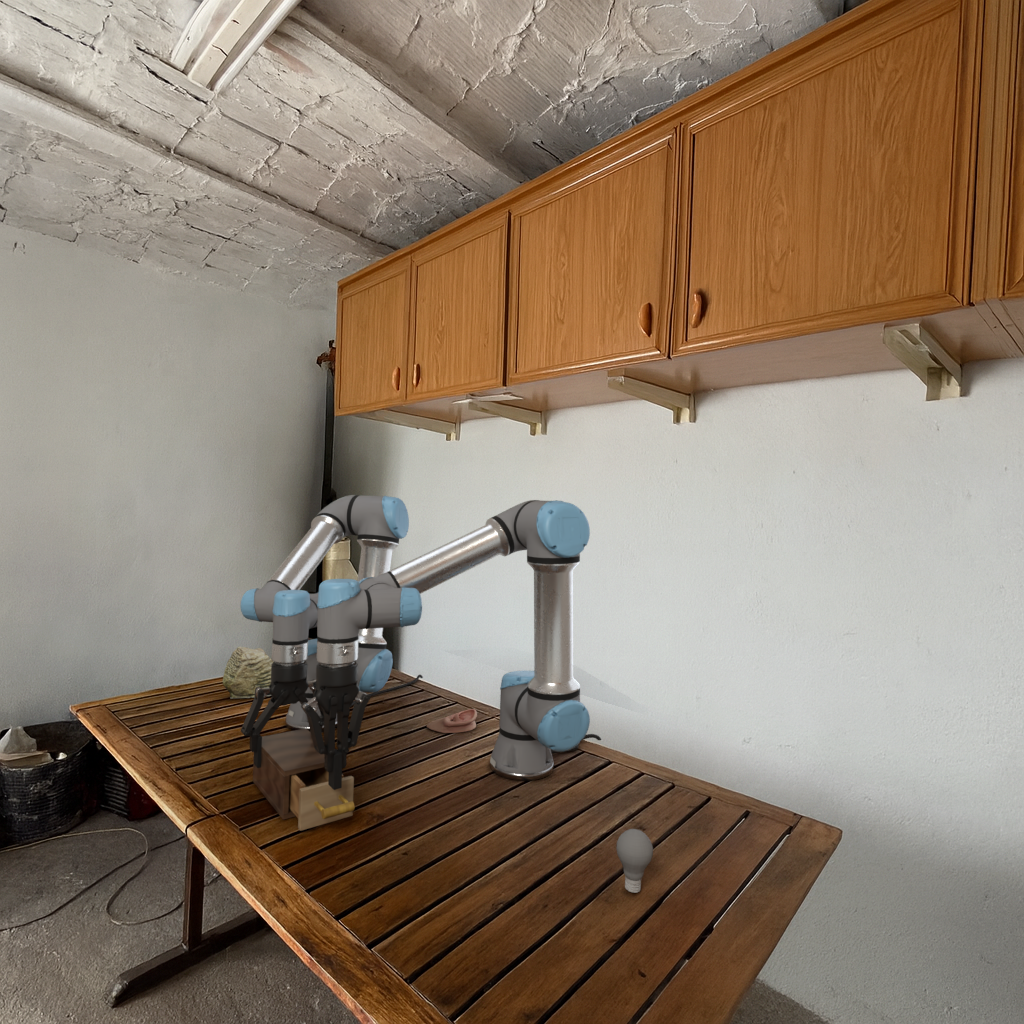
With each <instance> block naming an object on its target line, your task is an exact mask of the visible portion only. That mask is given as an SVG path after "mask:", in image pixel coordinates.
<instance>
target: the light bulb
mask: <svg viewBox="0 0 1024 1024" xmlns="http://www.w3.org/2000/svg"><path fill="white" fill-rule="evenodd" d="M615 849H616V854H617V857H618V859H619V861H620V863H621V865H622V867H623V873H624V874H623V875H624V876H625V878H624V888H625V890H627V891H628V892H630V893H634V894H635V893H639V892H640V891H641V889H642V887H641V886H642V879H643V877H644V875H645V871H646V868H647V867H648V866H649V864H650V863H651V861H652V859H653V855H654V847H653V843H652V841H651V838H649V836H648V835H647V834H646V833H645V832H643V831H642V830H641V829H636V828H629V829H627V830H625V831H623V832H622V833H621V834H620V835H619V837H618V839H617V841H616V847H615Z"/></svg>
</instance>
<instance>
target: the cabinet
mask: <svg viewBox="0 0 1024 1024" xmlns="http://www.w3.org/2000/svg"><path fill="white" fill-rule="evenodd" d="M252 761H253V762H252V763H253V765H252V783H253V784H254V785H255V786H256V788H257V789H258V790H259V792H261V794H262V795H263V796H264V798H265V799H266V800H267V801H268V803H269V804H270V805H271V806H272V808H273V809H274V810H275V812H276V813H277V814H278V815H279V817H280V818H281V819H282V821H284V820H287V819H291V818H294V817H295V818H296V815H295V814H294V813H293V812H292V811H291V809H290V808H289V781H290V775H293V774H297V773H301V772H306V771H310V770H314V769H318V768H323V767H324V754H320V753H318V752H317V751H316V750H315V749H314V745H313V740H312V736H311V732H310V731H309V730H307V729H306V728H305V729H300V730H290V731H285V732H284V731H283V732H280V733H279V732H278V733H275V734H269V735H264V736H262V752H261V767H260V768H257V767H256V766H255V765H254V758H253V760H252Z"/></svg>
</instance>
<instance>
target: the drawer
mask: <svg viewBox="0 0 1024 1024" xmlns="http://www.w3.org/2000/svg"><path fill="white" fill-rule="evenodd" d="M328 777H329V772H327V771H326V770H325V768H324V767H323V768H318V769H314V770H310V771H306V772H301V773H297V774H293V775H290V781H289V808H290V809H291V811H292V812H293V813H294V814H295V815H296V816H295V818H297V820H298V821H297V822H298V823H297V829H298V830H299V832H300V831H301V832H302V831H305V830H307V829H312V828H315V827H318V826H322V825H325V824H329V823H333V822H336V821H339V820H342V819H347V818H351V817H353V815H354V813H353V812H354V811H355V808H356V807H355V802H354V787H355V777H354V776H352V775H348V776H344V773H342V788H339V789H336V790H333V789H332V788H331V787H330V786H329V785H328Z"/></svg>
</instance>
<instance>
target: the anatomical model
mask: <svg viewBox="0 0 1024 1024" xmlns="http://www.w3.org/2000/svg"><path fill="white" fill-rule="evenodd" d="M477 717H478V711H477V709H475V708H470V709H469V708H468V709H465V710H462V711H458V712H455V713H453V714H450V715H448V716H445V717H441V718H437V719H434V720H433V721H430V722H429V723H428V724H427V725H426V728H427V729H429V730H432V731H434V732H438V733H443V734H455V733H456V734H457V733H464V732H465V733H466V732H470V731H473V730H474V729H476V727H477V723H476V719H477Z"/></svg>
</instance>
